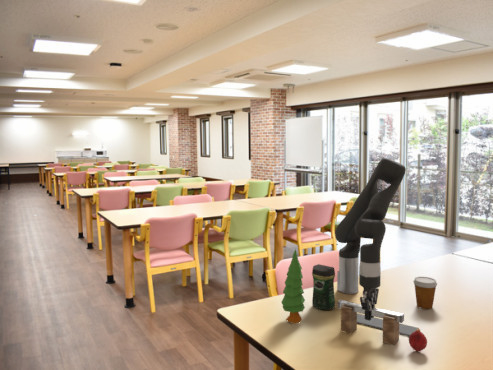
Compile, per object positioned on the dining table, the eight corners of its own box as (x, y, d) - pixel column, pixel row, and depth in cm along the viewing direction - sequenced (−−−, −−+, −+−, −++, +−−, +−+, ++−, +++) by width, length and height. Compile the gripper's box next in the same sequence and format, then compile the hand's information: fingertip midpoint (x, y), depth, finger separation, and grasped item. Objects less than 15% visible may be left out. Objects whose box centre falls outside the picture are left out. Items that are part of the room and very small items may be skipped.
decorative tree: (301, 326, 161) (301, 251, 158) (278, 323, 164) (277, 250, 162) (306, 317, 170) (306, 246, 168) (284, 314, 173) (283, 244, 171)
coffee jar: (338, 307, 180) (338, 265, 179) (328, 312, 175) (328, 269, 173) (319, 301, 187) (319, 261, 185) (309, 306, 181) (309, 265, 180)
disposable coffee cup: (439, 311, 174) (439, 283, 173) (415, 310, 176) (415, 282, 175) (433, 303, 183) (434, 276, 182) (410, 301, 185) (411, 275, 184)
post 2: (382, 342, 147) (382, 316, 147) (387, 335, 152) (388, 310, 151) (393, 345, 145) (394, 318, 144) (399, 338, 150) (399, 313, 149)
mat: (341, 319, 167) (341, 318, 167) (349, 312, 174) (349, 311, 174) (413, 337, 151) (413, 335, 151) (419, 329, 157) (419, 328, 157)
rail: (337, 307, 159) (337, 301, 159) (340, 305, 161) (340, 299, 161) (401, 323, 144) (401, 315, 144) (403, 320, 146) (404, 313, 146)
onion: (425, 357, 136) (425, 334, 136) (407, 353, 139) (407, 330, 139) (428, 350, 141) (428, 327, 140) (410, 346, 144) (410, 324, 144)
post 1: (340, 330, 157) (340, 306, 156) (347, 325, 162) (347, 301, 161) (350, 333, 155) (350, 308, 154) (356, 327, 159) (357, 303, 159)
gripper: (366, 266, 159) (366, 310, 161) (352, 276, 148) (352, 322, 150) (386, 270, 155) (385, 314, 156) (373, 279, 143) (372, 327, 145)
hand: (369, 318), depth 153 cm, fingers closed on rail, 2 cm apart
